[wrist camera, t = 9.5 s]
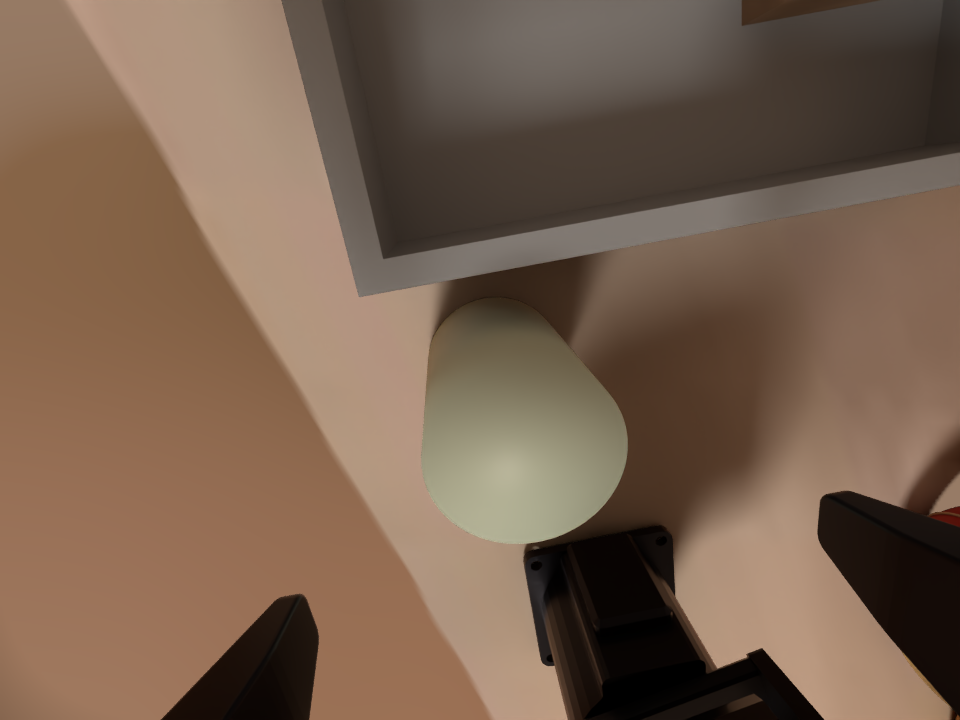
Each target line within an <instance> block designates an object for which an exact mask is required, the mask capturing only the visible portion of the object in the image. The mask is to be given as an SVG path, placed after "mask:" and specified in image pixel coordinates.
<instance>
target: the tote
mask: <svg viewBox="0 0 960 720" xmlns="http://www.w3.org/2000/svg"><path fill="white" fill-rule="evenodd" d="M282 4H283V8H284V12H285V16H286V20H287V23H288V27H289V31H290V35H291V39H292V43H293V46H294V50H295V54H296V58H297V62H298V66H299V69H300V73H301V77H302V81H303V85H304V89H305V92H306V96H307V100H308V104H309V108H310V112H311V115H312V119H313V123H314V127H315V131H316V134H317V138H318V142H319V146H320V150H321V154H322V157H323V161H324V165H325V169H326V173H327V177H328V180H329V184H330V188H331V192H332V196H333V200H334V203H335V207H336V211H337V215H338V219H339V223H340V226H341V230H342V234H343V238H344V242H345V246H346V249H347V253H348V257H349V261H350V265H351V268H352V272H353V276H354V280H355V284H356V288H357V291H358V295H359V297H363V296H368V295H374V294H379V293H384V292H390V291H395V290H401V289H406V288H411V287H417V286H422V285H427V284H433V283H438V282H443V281H449V280H454V279H460V278H465V277H470V276H476V275H481V274H486V273H492V272H497V271H502V270H508V269H513V268H518V267H524V266H529V265H535V264H540V263H545V262H551V261H556V260H561V259H567V258H572V257H577V256H583V255H588V254H594V253H599V252H604V251H610V250H615V249H620V248H626V247H631V246H636V245H642V244H647V243H653V242H658V241H663V240H669V239H674V238H679V237H685V236H690V235H695V234H701V233H706V232H712V231H717V230H722V229H728V228H733V227H738V226H744V225H749V224H754V223H760V222H765V221H771V220H776V219H781V218H787V217H792V216H797V215H803V214H808V213H813V212H819V211H824V210H830V209H835V208H840V207H846V206H851V205H856V204H862V203H867V202H872V201H878V200H883V199H889V198H894V197H899V196H905V195H910V194H915V193H921V192H926V191H931V190H937V189H942V188H948V187H953V186H958V185H960V0H880V1H875V2H869V3H864V4H858V5H853V6H848V7H842V8H837V9H831V10H826V11H820V12H815V13H810V14H804V15H799V16H793V17H788V18H783V19H777V20H772V21H766V22H761V23H756V24H750V25H745V26H742V0H282Z"/></svg>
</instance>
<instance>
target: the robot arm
mask: <svg viewBox="0 0 960 720" xmlns="http://www.w3.org/2000/svg"><path fill="white" fill-rule="evenodd" d="M660 536H662V537H661V538H660V539H658V540H656V539H657V538H658V537H660ZM818 539H819V542H820V544H821V546H822V548H823V549H824V551H825V552H826V553H827V555H828V556H829V557H830V559H831V560H832V561H833V563H834V564H835V565H836V567H837V568H838V569H839V571H840V572H841V573H842V575H843V576H844V578H845V579H846V580H847V582H848V583H849V584H850V586H851V587H852V588H853V590H854V591H855V592H856V594H857V595H858V596H859V598H860V599H861V600H862V602H863V603H864V605H865V606H866V607H867V609H868V610H869V611H870V613H871V614H872V615H873V617H874V618H875V619H876V621H877V622H878V623H879V624H880V626H881V627H882V628H883V629H884V631H885V632H886V633H887V634H888V636H889V637H890V638H891V639H892V640H893V642H894V643H895V644H896V645H897V646H898V647H899V649H900V650H901V651H902V652H903V653H904V654H905V655H906V657H907V658H908V659H909V660H910V661H911V662H912V663H913V665H914V666H915V667H916V668H917V669H918V670H919V671H920V673H921V674H922V675H923V676H924V677H925V678H926V679H927V681H928V682H929V683H930V684H931V685H932V686H933V687H934V688H935V690H936V691H937V692H938V693H939V694H940V695H941V696H942V698H943V699H944V700H945V701H946V702H947V703H948V704H949V706H950V707H951V708H952V709H953V710H954V711H955V712H956V714H957V715H958V716H959V717H960V527H958V526H955V525H952V524H949V523H946V522H943V521H940V520H937V519H934V518H931V517H928V516H925V515H922V514H919V513H916V512H913V511H910V510H907V509H904V508H901V507H897V506H894V505H891V504H888V503H885V502H882V501H879V500H876V499H873V498H870V497H867V496H864V495H861V494H858V493H855V492H852V491H840V492H835V493H830V494H826V495H824V496H823V497H822V498H821V500H820V508H819V519H818ZM534 561H539V562H538V563H536V564H532V562H534ZM523 562H524V568H525V573H526V579H527V585H528V590H529V596H530V602H531V607H532V613H533V618H534V624H535V630H536V635H537V641H538V647H539V652H540V657H541V661H542V663H543V664H544V665H547V666H555V669H556V673H557V677H558V681H559V685H560V689H561V693H562V697H563V702H564V706H565V710H566V714H567V718H568V720H824V719H823V718H822V717H821V715H820V714H819V713H818V712H817V711H816V710H815V708H814V707H813V706H812V705H811V704H810V703H809V702H808V700H807V699H806V698H805V697H804V696H803V695H802V693H801V692H800V691H799V690H798V689H797V688H796V687H795V685H794V684H793V683H792V682H791V681H790V680H789V678H788V677H787V676H786V675H785V674H784V673H783V672H782V670H781V669H780V668H779V667H778V666H777V665H776V664H775V662H774V661H773V660H772V659H771V658H770V657H769V655H768V654H767V653H766V652H765V651H764V650H763V649H762V648H761V649H758V650H756V651H753V652H750V653H748V654H746V655H747V658H744V659H741V660H739V661H736V662H734V663H731V664H728V665H726V666H723V667H720V668H718V669H717V667H716V666H715V664H714V662H713V660H712V659H711V657H710V655H709V654H708V652H707V650H706V649H705V647H704V645H703V643H702V642H701V640H700V638H699V637H698V635H697V633H696V631H695V630H694V628H693V626H692V625H691V623H690V621H689V620H688V618H687V616H686V614H685V613H684V611H683V609H682V608H681V606H680V604H679V603H678V601H677V599H676V597H675V583H674V561H673V539H672V535H671V534H670V532H669V531H668V530H667V528H666V527H664V526H661V525H659V526H652V527H647V528H642V529H637V530H632V531H627V532H622V533H617V534H612V535H607V536H602V537H596V538H591V539H586V540H581V541H576V542H571V543H566V544H561V545H556V546H551V547H546V548H541V549H536V550H532V551H529V552H528V553H527V554H525V556H524V560H523ZM318 645H319V635H318V629H317V626H316V624H315V621H314V618H313V615H312V612H311V610H310V607H309V604H308V601H307V599H306V597H305V596H304V595H302V594H295V595H289V596H284V597H280V598H279V599H277V600H276V601H274V602H273V604H271V606H270V607H269V608H268V609H267V610H266V611H265V612H264V613H263V614H262V615H261V616H260V617H259V618H258V619H257V620H256V621H255V622H254V623H253V624H252V625H251V626H250V627H249V628H248V630H247V631H246V632H245V633H244V634H243V635H242V636H241V637H240V638H239V639H238V640H237V641H236V642H235V643H234V644H233V645H232V646H231V647H230V648H229V649H228V650H227V651H226V652H225V653H224V655H223V656H222V657H221V658H220V659H219V660H218V661H217V662H216V663H215V664H214V665H213V666H212V667H211V668H210V669H209V670H208V671H207V672H206V673H205V674H204V675H203V677H201V678H200V680H199V681H198V682H197V683H196V684H195V685H194V686H193V687H192V688H191V689H190V690H189V691H188V692H187V693H186V694H185V695H184V696H183V698H181V699H180V700H179V701H178V702H177V704H176V705H175V706H174V707H173V708H172V709H171V710H170V711H169V712H168V713H167V714H166V715H165V716H164V717H163V718H162V719H161V720H309V717H310V709H311V701H312V692H313V685H314V677H315V669H316V661H317V653H318Z"/></svg>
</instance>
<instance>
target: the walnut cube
mask: <svg viewBox="0 0 960 720" xmlns="http://www.w3.org/2000/svg"><path fill="white" fill-rule="evenodd" d="M875 1H880V0H742V26H745V25H750V24H756V23H761V22H766V21H772V20H777V19H783V18H788V17H793V16H799V15H804V14H810V13H815V12H820V11H826V10H831V9H837V8H842V7H848V6H853V5H858V4H864V3H869V2H875Z"/></svg>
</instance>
